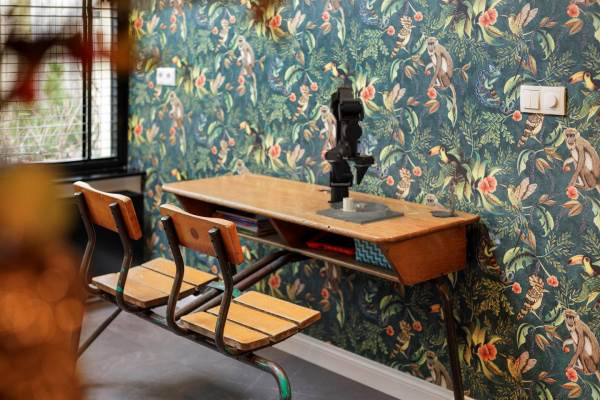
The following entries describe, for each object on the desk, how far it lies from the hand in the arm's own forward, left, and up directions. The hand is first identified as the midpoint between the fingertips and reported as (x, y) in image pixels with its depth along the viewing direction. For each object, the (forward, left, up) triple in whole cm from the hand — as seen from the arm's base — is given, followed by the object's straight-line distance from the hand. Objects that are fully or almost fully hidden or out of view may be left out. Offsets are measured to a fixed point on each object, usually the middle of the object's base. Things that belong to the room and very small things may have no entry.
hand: (348, 183), depth 272 cm
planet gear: (0, 0, -11) cm, 11 cm away
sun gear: (0, +6, -12) cm, 13 cm away
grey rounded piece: (+20, +28, -12) cm, 36 cm away
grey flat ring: (0, +6, -12) cm, 13 cm away
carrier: (0, +6, -12) cm, 13 cm away
